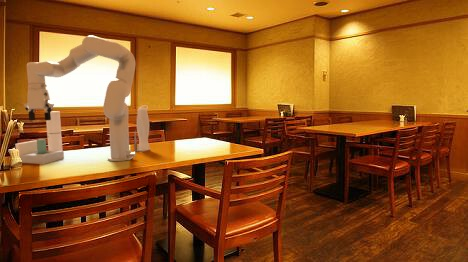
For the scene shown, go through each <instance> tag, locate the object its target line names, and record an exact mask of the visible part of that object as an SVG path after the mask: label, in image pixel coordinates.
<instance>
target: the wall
mask: <svg viewBox="0 0 468 262" xmlns="http://www.w3.org/2000/svg"><path fill="white" fill-rule="evenodd" d="M37 140H38V139H36V140H30V141H23V142H18V143H15V144H14V145H15V150H16V149H18V150H19V156H20V155H22V154H27V153H31V152H36V151H38V150H37Z"/></svg>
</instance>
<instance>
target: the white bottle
mask: <svg viewBox="0 0 468 262" xmlns="http://www.w3.org/2000/svg"><path fill="white" fill-rule="evenodd" d="M148 108H149V105H147V104H144V105H141V106H139V108H137V113H136V131H137V134H136V132H134V138H133V140H134V144H133V146H134V149H133V152H139V153H142V152H149V151H151V147H150V144H149V140H148V139H149V134H150V117H149V115H148ZM137 136H138V137H137ZM137 138H138V140H139V142H138V141H137ZM137 143H138V144H137Z"/></svg>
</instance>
